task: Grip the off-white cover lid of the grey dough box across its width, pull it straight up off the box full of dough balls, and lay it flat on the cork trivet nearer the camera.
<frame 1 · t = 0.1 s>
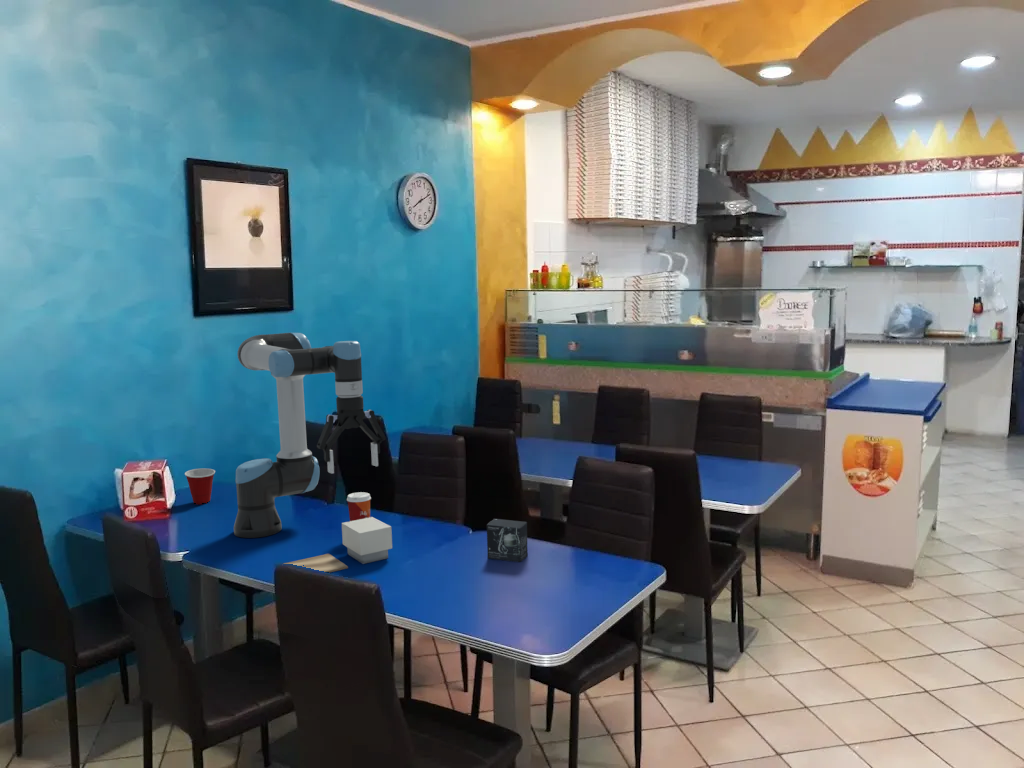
hand: (353, 469, 238), 28 cm above the table, fingers open, 13 cm apart
dough box: (367, 556, 247), on the table
trivet: (315, 566, 239), on the table
paper cup: (360, 538, 265), on the table
box: (507, 558, 243), on the table
plastic cup: (202, 503, 312), on the table
lid: (367, 546, 246), point 3 cm above the table, touching dough box
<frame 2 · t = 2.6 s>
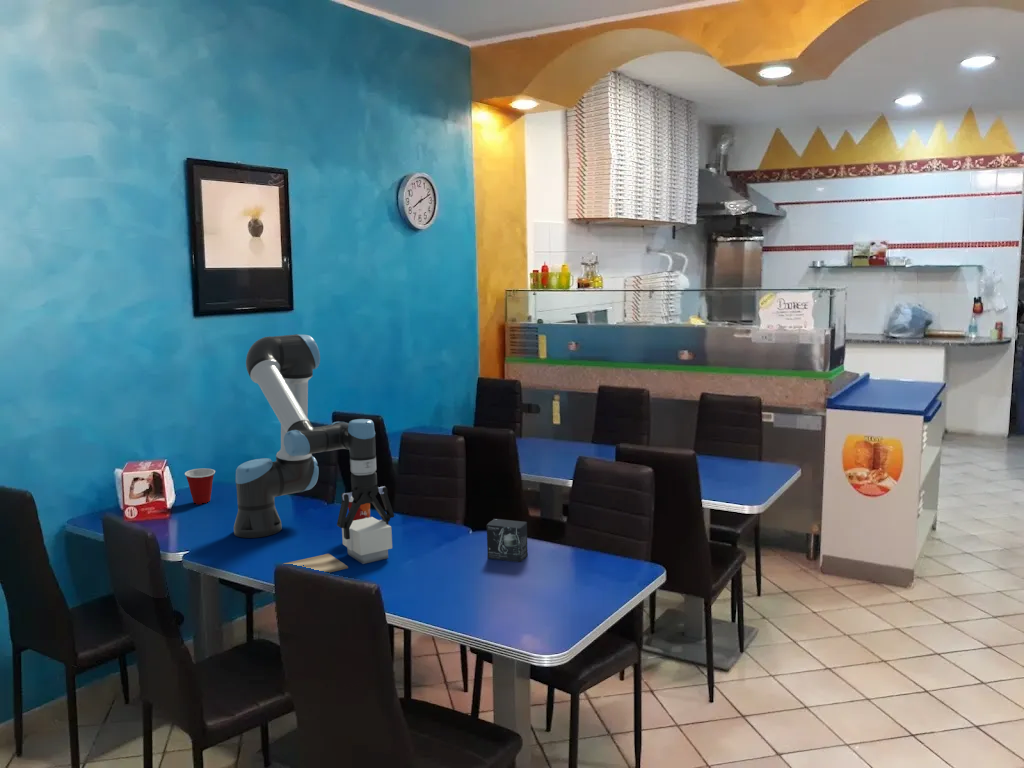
hand: (367, 545, 246), 3 cm above the table, fingers closed on lid, 10 cm apart
lid: (367, 546, 246), point 3 cm above the table, touching dough box, gripper
everything else where it was.
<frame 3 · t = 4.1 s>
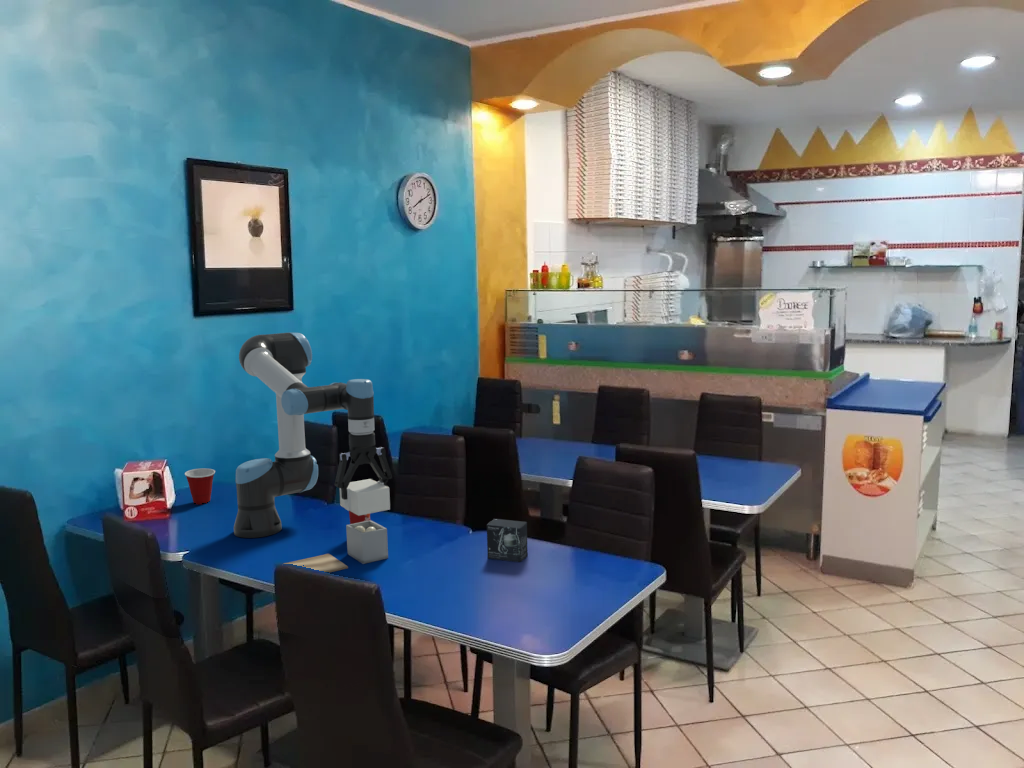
hand: (364, 506, 245), 15 cm above the table, fingers closed on lid, 10 cm apart
lid: (365, 507, 245), point 15 cm above the table, touching gripper
everything else where it was.
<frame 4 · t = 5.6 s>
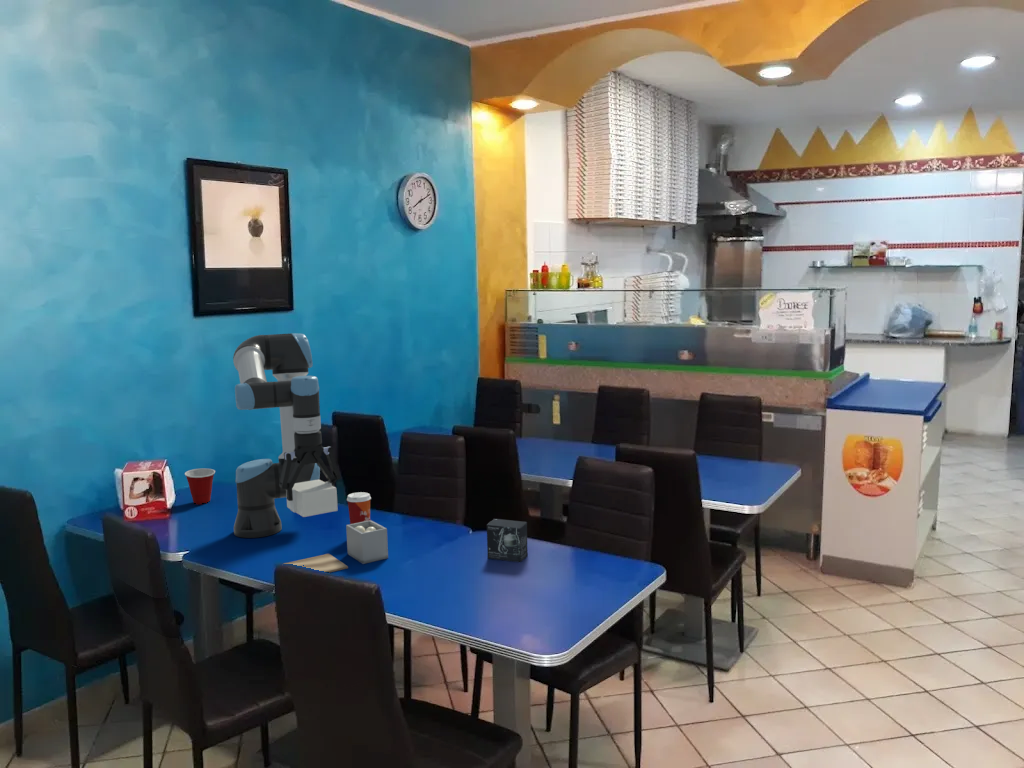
hand: (311, 507, 236), 17 cm above the table, fingers closed on lid, 10 cm apart
lid: (312, 508, 236), point 17 cm above the table, touching gripper
everything else where it was.
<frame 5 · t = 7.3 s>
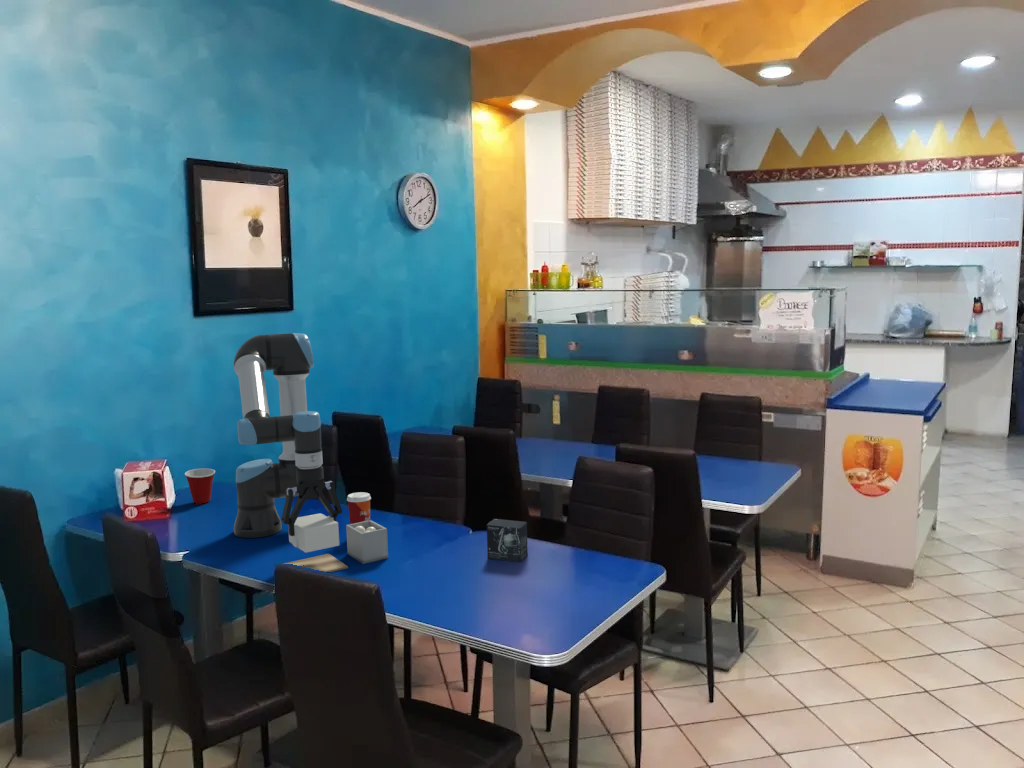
hand: (313, 542, 238), 7 cm above the table, fingers closed on lid, 10 cm apart
lid: (314, 543, 238), point 7 cm above the table, touching gripper
everything else where it was.
when the fingers open (2 cm above the table, at t = 8.9 s): lid drops 1 cm, resting on trivet.
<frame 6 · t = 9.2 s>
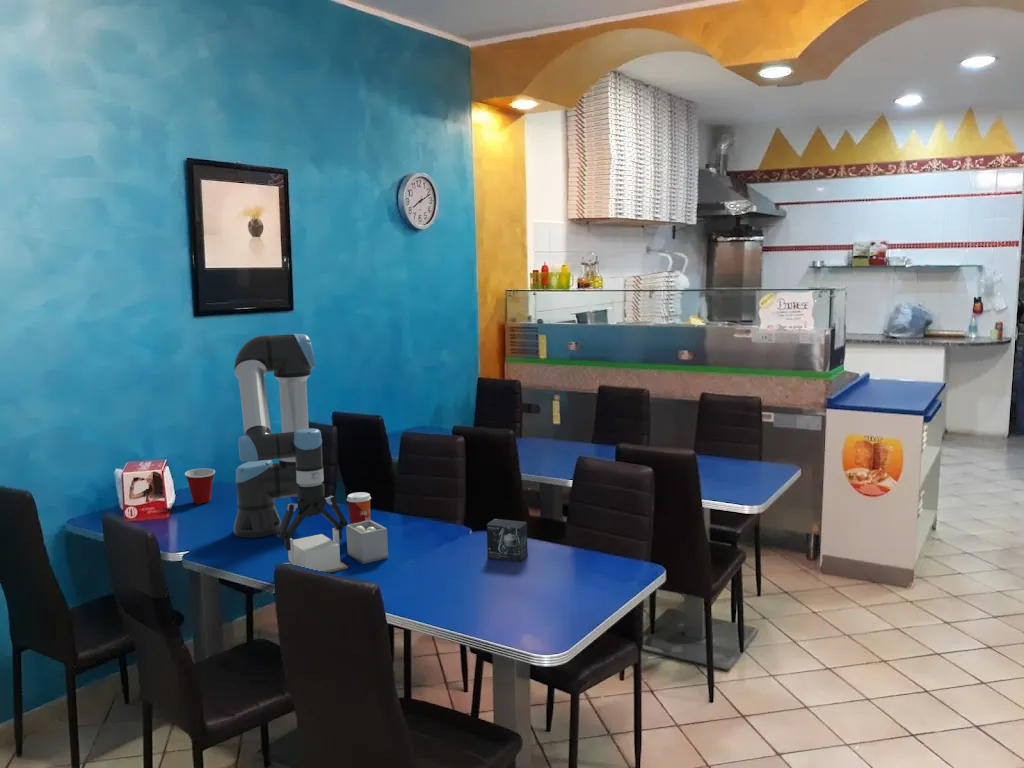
hand: (314, 555, 238), 3 cm above the table, fingers open, 13 cm apart
lid: (315, 564, 239), point 1 cm above the table, touching trivet
everything else where it was.
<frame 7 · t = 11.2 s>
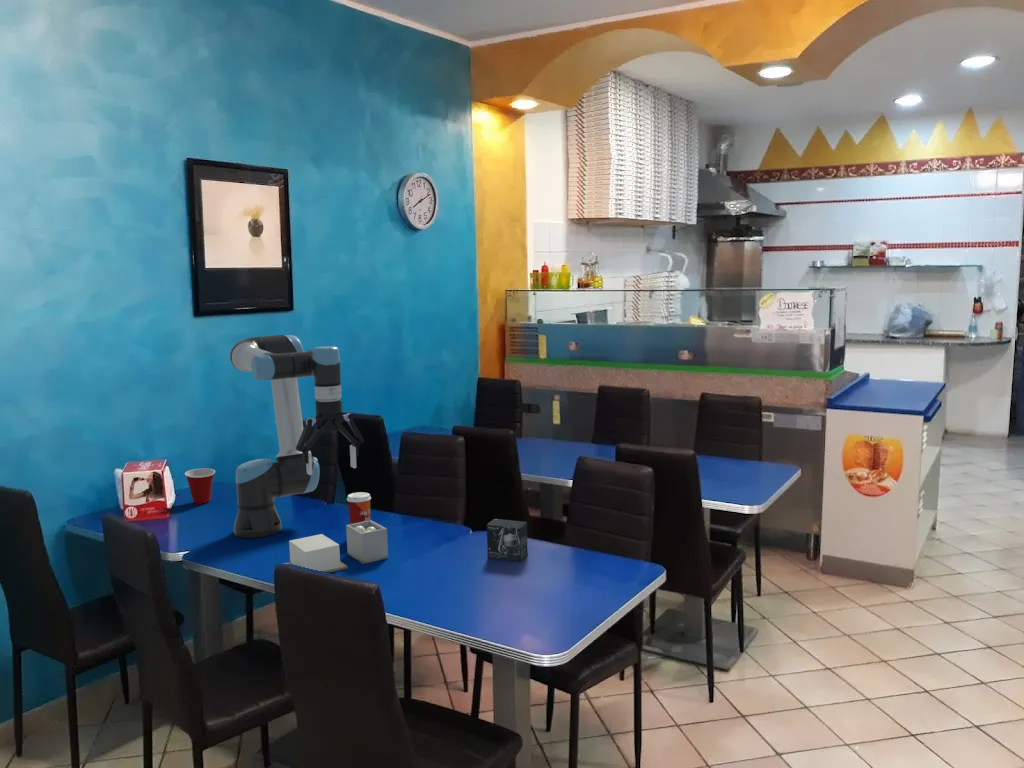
hand: (331, 470, 245), 26 cm above the table, fingers open, 13 cm apart
nothing on the table moved.
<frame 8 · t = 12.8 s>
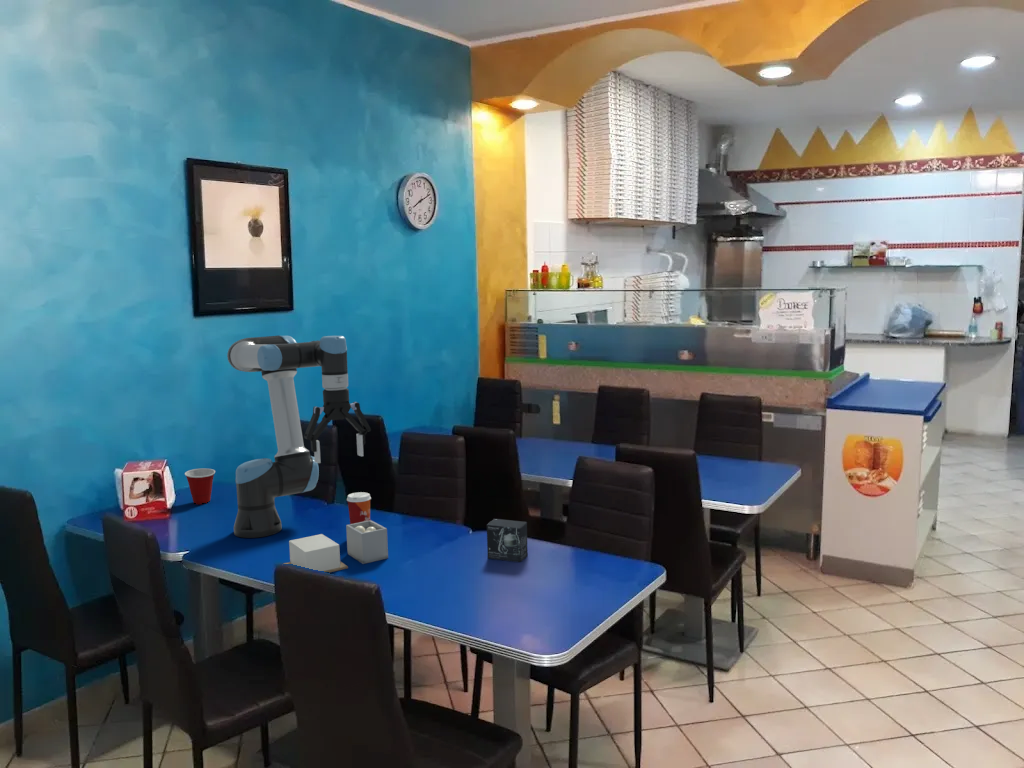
hand: (339, 459, 247), 29 cm above the table, fingers open, 13 cm apart
nothing on the table moved.
at the end: lid inside the target area on the trivet (0.1 cm from its centre), point 0.6 cm above the trivet's base; lid tilted 0°; the gripper is holding nothing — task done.
